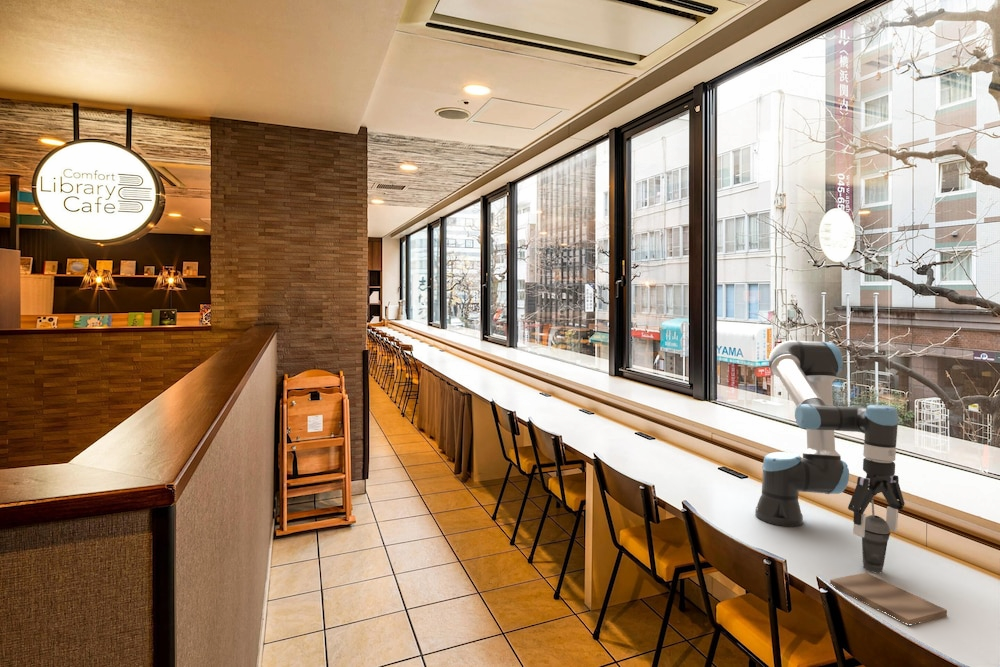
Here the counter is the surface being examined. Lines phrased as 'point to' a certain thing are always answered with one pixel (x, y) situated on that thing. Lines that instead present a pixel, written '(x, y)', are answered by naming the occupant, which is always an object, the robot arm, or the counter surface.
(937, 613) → the serving board
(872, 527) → the beverage cup
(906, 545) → the counter surface
